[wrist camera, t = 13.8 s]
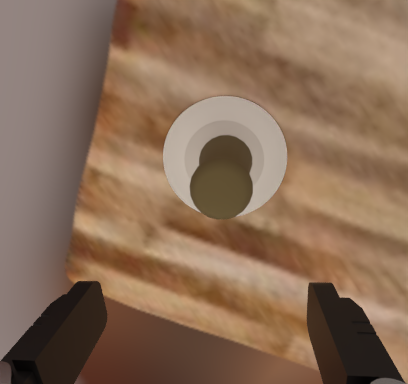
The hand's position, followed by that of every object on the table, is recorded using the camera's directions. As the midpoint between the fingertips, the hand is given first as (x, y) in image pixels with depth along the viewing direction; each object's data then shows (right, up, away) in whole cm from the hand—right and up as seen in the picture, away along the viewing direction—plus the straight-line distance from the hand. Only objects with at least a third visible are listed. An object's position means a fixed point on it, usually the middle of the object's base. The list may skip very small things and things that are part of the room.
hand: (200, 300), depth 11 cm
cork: (+3, +8, +21) cm, 23 cm away
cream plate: (+2, +8, +22) cm, 24 cm away
